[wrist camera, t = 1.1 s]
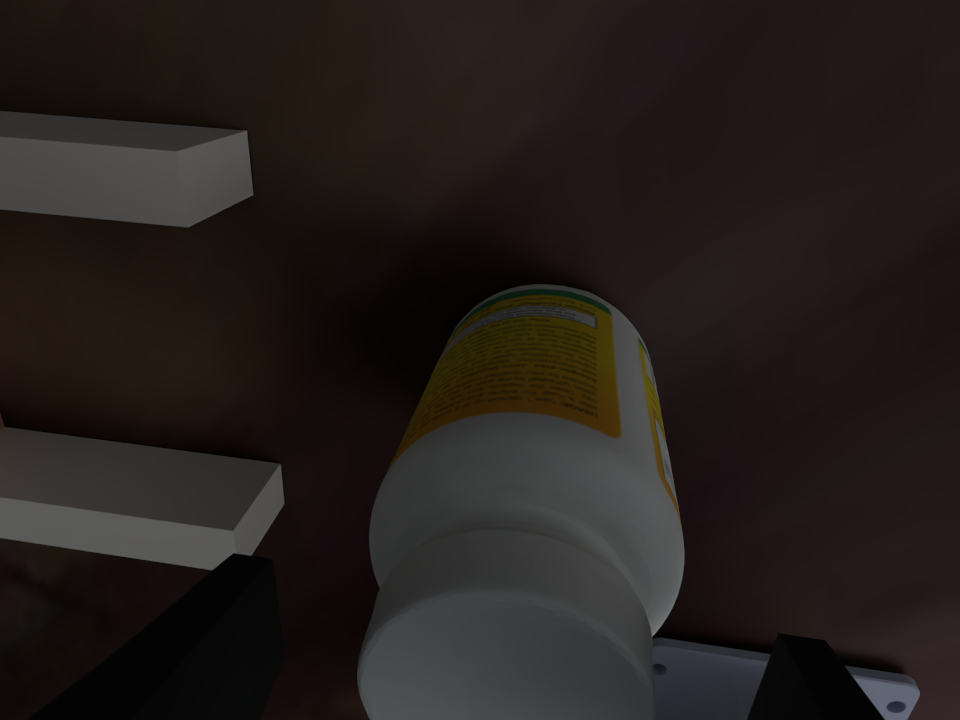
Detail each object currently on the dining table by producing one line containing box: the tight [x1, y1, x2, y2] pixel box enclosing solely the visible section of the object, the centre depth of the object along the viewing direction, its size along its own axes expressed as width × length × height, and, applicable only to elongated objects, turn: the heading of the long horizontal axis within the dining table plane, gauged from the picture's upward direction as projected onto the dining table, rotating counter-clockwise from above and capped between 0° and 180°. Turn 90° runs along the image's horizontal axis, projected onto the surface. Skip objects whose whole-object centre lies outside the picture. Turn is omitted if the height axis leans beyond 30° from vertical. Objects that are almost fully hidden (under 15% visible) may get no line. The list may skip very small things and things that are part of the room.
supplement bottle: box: [357, 284, 684, 720], centre depth 13 cm, size 5×5×10 cm
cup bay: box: [0, 111, 285, 570], centre depth 17 cm, size 11×10×3 cm
